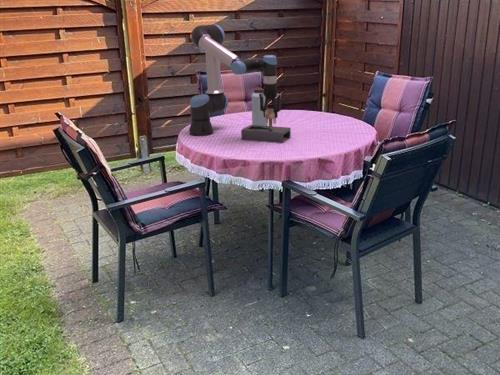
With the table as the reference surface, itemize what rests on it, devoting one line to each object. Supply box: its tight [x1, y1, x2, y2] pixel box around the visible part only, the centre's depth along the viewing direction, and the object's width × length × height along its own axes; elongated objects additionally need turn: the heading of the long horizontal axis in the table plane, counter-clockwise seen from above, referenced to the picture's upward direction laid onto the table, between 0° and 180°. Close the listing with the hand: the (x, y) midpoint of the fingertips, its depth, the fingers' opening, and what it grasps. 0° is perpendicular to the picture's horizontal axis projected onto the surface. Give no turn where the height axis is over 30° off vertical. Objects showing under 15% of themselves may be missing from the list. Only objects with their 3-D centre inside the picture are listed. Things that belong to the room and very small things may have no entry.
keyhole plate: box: [240, 124, 292, 144], centre depth 304 cm, size 26×14×6 cm, turn 66°
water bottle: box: [251, 88, 269, 126], centre depth 327 cm, size 10×10×25 cm
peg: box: [265, 108, 274, 130], centre depth 301 cm, size 5×5×17 cm
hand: (270, 123), depth 301 cm, fingers closed on peg, 4 cm apart
